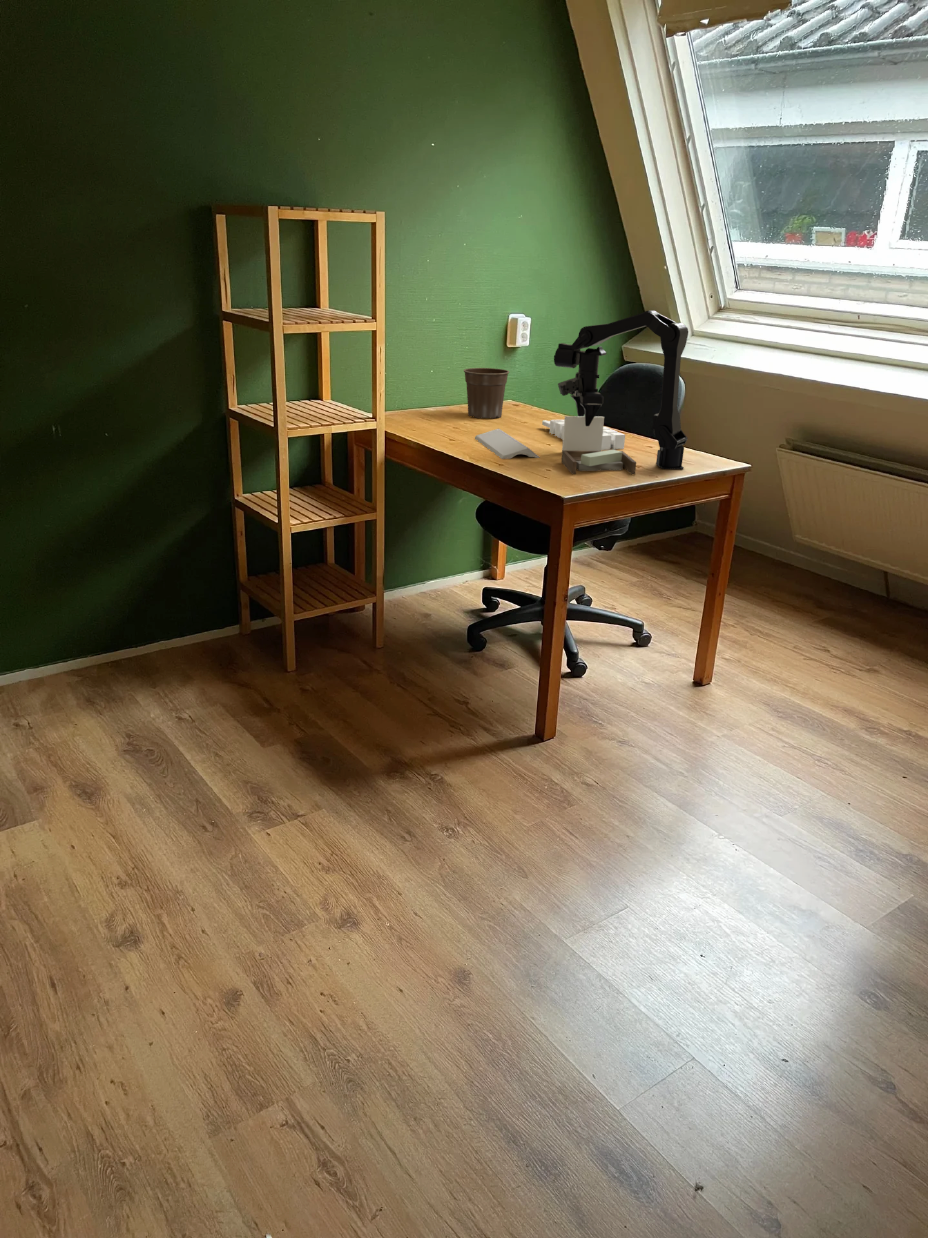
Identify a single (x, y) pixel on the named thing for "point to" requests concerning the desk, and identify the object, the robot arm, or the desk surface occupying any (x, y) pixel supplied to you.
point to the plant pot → (485, 391)
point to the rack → (573, 456)
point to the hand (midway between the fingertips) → (583, 422)
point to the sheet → (582, 434)
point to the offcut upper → (601, 457)
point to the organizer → (608, 439)
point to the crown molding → (503, 444)
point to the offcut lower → (600, 466)
